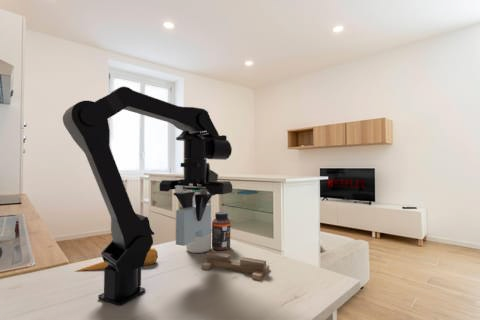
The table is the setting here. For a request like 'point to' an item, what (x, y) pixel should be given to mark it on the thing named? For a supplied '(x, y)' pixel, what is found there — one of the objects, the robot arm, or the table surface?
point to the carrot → (149, 259)
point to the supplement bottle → (221, 231)
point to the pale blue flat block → (192, 225)
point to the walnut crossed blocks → (237, 264)
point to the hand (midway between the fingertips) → (194, 220)
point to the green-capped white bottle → (199, 238)
